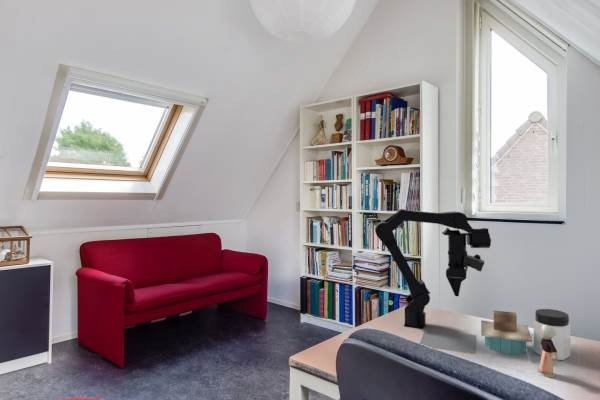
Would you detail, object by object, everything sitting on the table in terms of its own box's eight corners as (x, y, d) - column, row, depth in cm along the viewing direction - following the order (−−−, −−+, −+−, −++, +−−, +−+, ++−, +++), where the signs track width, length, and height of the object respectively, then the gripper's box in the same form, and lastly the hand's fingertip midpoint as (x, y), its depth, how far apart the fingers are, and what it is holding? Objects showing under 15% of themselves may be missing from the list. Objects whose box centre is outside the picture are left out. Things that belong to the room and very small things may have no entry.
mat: (418, 347, 122) (418, 345, 122) (425, 330, 137) (425, 328, 137) (475, 355, 116) (475, 353, 116) (476, 336, 130) (476, 335, 130)
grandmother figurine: (530, 368, 107) (530, 321, 107) (544, 367, 107) (544, 320, 107) (551, 382, 99) (551, 331, 99) (565, 381, 100) (565, 330, 99)
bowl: (485, 352, 118) (485, 335, 118) (484, 338, 128) (484, 323, 128) (527, 357, 113) (527, 340, 113) (524, 343, 123) (524, 327, 123)
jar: (559, 363, 110) (559, 319, 110) (529, 353, 117) (529, 312, 116) (574, 355, 115) (574, 313, 114) (544, 346, 122) (544, 306, 121)
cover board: (481, 335, 117) (481, 316, 117) (481, 322, 129) (481, 304, 129) (532, 342, 112) (532, 322, 112) (527, 327, 124) (527, 309, 124)
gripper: (483, 253, 127) (483, 302, 127) (482, 245, 144) (482, 288, 144) (445, 251, 131) (446, 298, 132) (449, 244, 148) (449, 285, 149)
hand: (457, 292), depth 139 cm, fingers open, 9 cm apart
